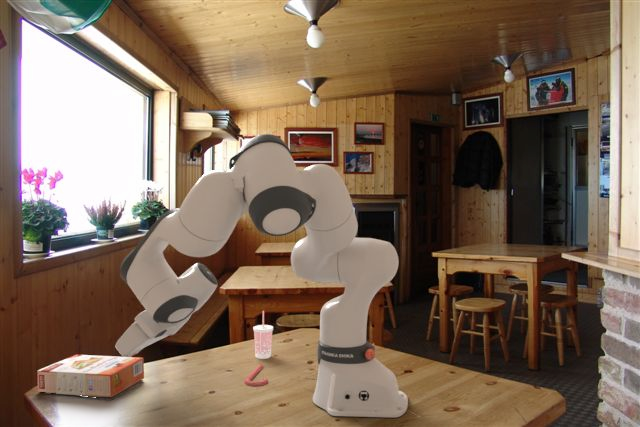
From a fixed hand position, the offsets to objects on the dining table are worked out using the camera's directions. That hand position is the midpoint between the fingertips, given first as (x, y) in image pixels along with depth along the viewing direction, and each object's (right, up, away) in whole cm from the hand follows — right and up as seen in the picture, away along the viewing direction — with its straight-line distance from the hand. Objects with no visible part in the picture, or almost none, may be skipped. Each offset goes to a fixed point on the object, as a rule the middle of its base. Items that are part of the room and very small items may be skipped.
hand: (130, 353), depth 124 cm
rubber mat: (-5, -9, +2) cm, 11 cm away
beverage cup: (+30, -9, +29) cm, 42 cm away
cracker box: (0, -6, 0) cm, 6 cm away
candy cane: (+30, -10, +12) cm, 34 cm away
